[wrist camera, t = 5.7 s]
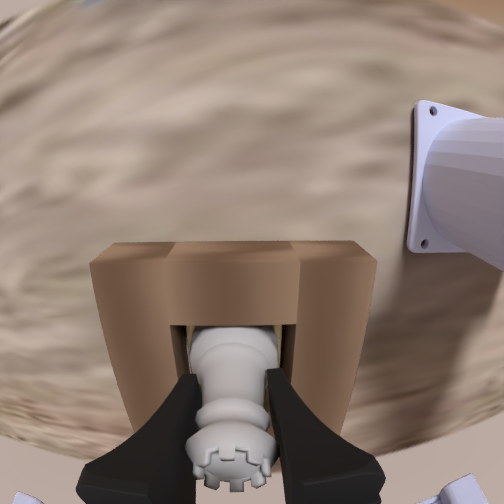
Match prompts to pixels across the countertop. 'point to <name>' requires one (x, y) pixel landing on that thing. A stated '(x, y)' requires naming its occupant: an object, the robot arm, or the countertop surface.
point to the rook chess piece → (232, 405)
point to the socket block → (235, 313)
